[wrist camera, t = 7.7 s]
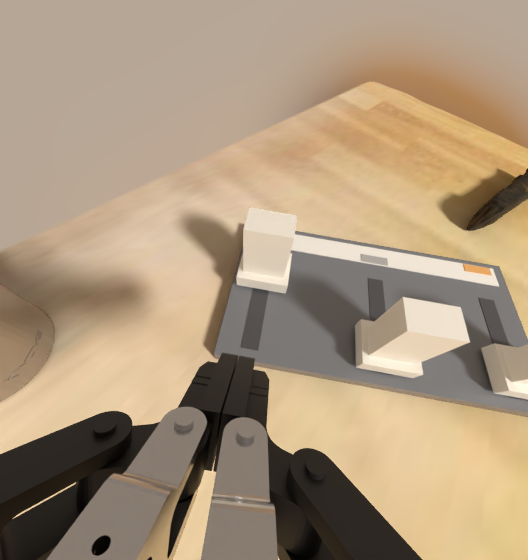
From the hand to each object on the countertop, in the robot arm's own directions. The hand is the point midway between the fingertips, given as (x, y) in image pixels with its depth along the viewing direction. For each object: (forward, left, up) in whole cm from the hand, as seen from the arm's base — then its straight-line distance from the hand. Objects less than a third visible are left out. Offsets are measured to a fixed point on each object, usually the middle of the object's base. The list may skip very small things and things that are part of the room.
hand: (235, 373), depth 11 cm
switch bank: (+12, +11, -12) cm, 21 cm away
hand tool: (+33, +32, -13) cm, 48 cm away
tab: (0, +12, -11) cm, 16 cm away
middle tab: (+12, +6, -11) cm, 17 cm away
